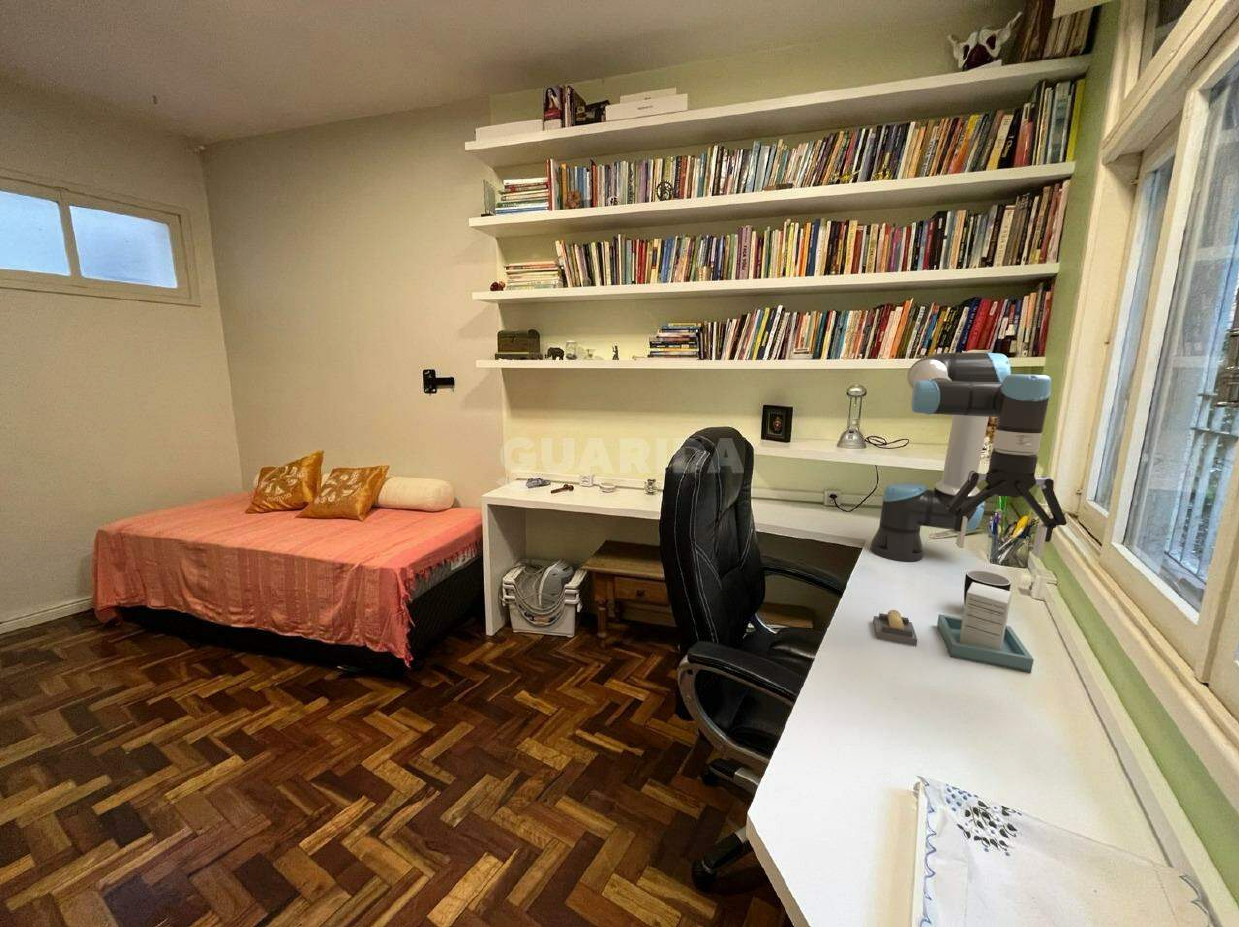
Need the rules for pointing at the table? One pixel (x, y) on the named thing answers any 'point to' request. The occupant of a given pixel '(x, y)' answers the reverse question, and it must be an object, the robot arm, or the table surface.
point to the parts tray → (1008, 657)
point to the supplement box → (985, 616)
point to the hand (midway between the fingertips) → (997, 550)
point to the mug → (985, 580)
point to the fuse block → (894, 628)
